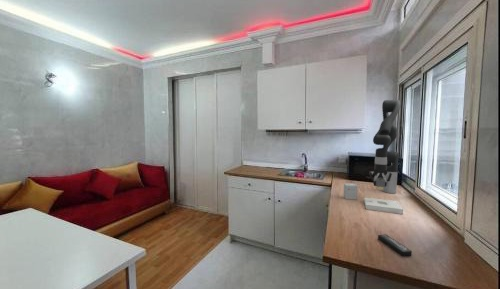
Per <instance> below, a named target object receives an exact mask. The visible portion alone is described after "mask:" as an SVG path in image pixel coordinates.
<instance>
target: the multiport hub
mask: <svg viewBox="0 0 500 289" xmlns="http://www.w3.org/2000/svg"><path fill="white" fill-rule="evenodd" d="M377 240H379V241H380V242H382V243H383V244H384V245H386V246H387V247H388V248H390V249H391V250H392V251H394V252H396V253H397V254H398V255H400V256H401V257H411V256H412V254H413V251H412V250H411V249H409V248H408V247H406V246H405V245H404V244H402V243H400V242H399V241H397V240H395V239H394V238H392V237H391V236H389V235H388V234H385V233H384V234H378V235H377Z"/></svg>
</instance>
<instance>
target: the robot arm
mask: <svg viewBox="0 0 500 289" xmlns="http://www.w3.org/2000/svg"><path fill="white" fill-rule="evenodd" d="M400 110H401V101H400V100H399V99H385V100H383V102H382V121H381V123H380V125H379V129H378V130H377V132H376V133H375V135H373V138H372V142H373V144H375V145H377V146H382V147H379V148H376V149H375V155H374V156H375V157H374V170H373V171H369V173H368V174H369V176H370V178H369V179H370V180H371V181H373V183H372V184H373V186H374V187H377V186H376V179H377V178H378V179H379V178H381V179H384V180H385V187H383V190H382V192H383V193H386V194H387V193H388V194H397V188H398V187H397V186H398V185H397V184H398V171H399V169H398V167H399V159H400V158H399V157H400V156H399V155H400V154H399V152H397V151H388V150H389V148H390V147H391V145H392V144H393V142H395V140H396V139H397V137H398V136H397V135H398V127H397V126H396V125H395V123H394V121H395V120H396V118H397V116H398V114H399V112H400ZM389 113H390V114H389ZM388 163H389V164H392V165H388ZM373 175H374V177H373Z"/></svg>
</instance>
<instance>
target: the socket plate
mask: <svg viewBox="0 0 500 289" xmlns="http://www.w3.org/2000/svg"><path fill="white" fill-rule="evenodd" d="M363 203H364V206H365V209H366V210H369V211H378V212H383V213H392V214H398V215H399V214H400V215H403V214H404V209H403V207H402V206H401V204H400V203H399V201H398V200H391V199H390V200H389V199H381V198H372V197H364V198H363Z"/></svg>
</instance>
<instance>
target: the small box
mask: <svg viewBox="0 0 500 289" xmlns="http://www.w3.org/2000/svg"><path fill="white" fill-rule="evenodd" d="M343 198H345V200H358V185H357V184H356V183H343Z"/></svg>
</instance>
